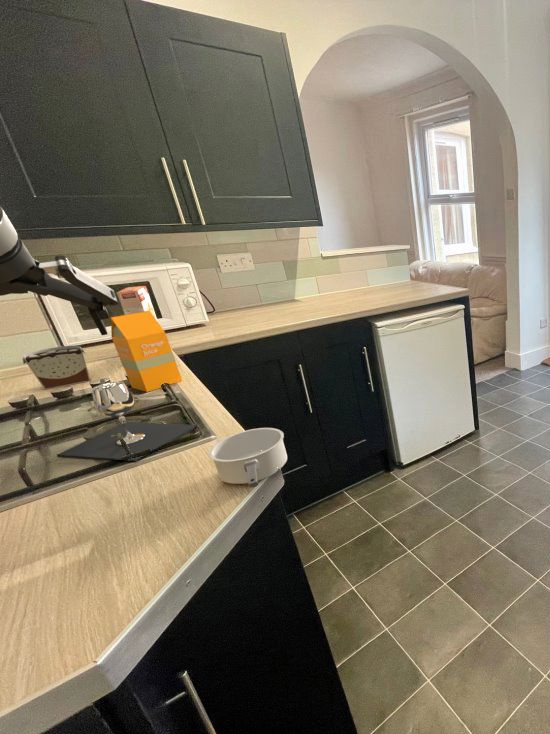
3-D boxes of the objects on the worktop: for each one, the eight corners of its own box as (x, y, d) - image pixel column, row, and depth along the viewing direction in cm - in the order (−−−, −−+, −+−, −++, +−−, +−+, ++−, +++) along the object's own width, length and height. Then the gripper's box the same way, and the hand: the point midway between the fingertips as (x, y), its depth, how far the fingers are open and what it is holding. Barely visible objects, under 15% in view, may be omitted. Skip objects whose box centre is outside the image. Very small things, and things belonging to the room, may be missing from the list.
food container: (99, 374, 126) (85, 342, 122) (97, 379, 122) (83, 346, 118) (40, 385, 119) (24, 351, 115) (37, 391, 115) (19, 356, 111)
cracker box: (159, 349, 148) (138, 290, 140) (138, 352, 146) (114, 292, 138) (166, 340, 160) (146, 285, 152) (146, 343, 157) (125, 286, 149)
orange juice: (182, 380, 119) (158, 311, 112) (147, 392, 112) (118, 318, 104) (166, 376, 122) (141, 309, 115) (131, 387, 115) (102, 316, 107)
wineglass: (104, 447, 84) (79, 392, 79) (126, 433, 89) (104, 381, 85) (135, 445, 84) (111, 390, 80) (155, 431, 90) (134, 379, 85)
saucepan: (218, 527, 62) (206, 497, 60) (218, 465, 77) (209, 439, 75) (302, 499, 68) (294, 470, 65) (286, 446, 83) (280, 421, 81)
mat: (57, 456, 82) (56, 454, 82) (128, 423, 95) (127, 421, 95) (136, 462, 79) (135, 460, 79) (197, 427, 92) (196, 425, 92)
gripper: (-209, 276, 42) (-76, 376, 58) (119, 255, 57) (151, 339, 73) (-216, 219, 44) (-85, 332, 60) (104, 213, 59) (139, 305, 75)
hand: (45, 336), depth 67 cm, fingers open, 13 cm apart
